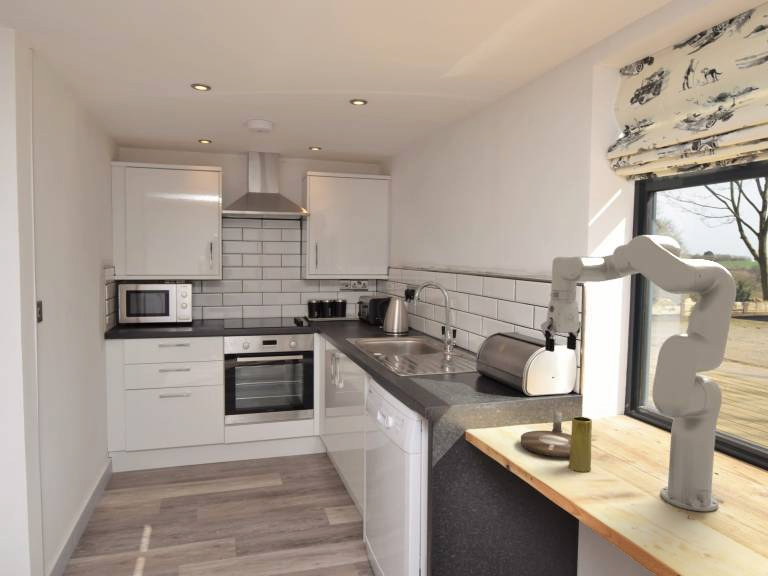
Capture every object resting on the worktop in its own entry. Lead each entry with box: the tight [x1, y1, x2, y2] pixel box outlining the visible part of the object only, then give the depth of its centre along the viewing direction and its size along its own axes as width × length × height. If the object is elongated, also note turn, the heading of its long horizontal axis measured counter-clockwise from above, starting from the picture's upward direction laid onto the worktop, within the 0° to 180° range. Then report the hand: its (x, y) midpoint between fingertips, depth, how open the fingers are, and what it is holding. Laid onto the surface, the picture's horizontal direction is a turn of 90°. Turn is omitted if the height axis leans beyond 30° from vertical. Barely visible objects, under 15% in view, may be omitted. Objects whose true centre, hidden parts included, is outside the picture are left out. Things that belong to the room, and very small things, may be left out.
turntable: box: [520, 411, 572, 458], centre depth 175 cm, size 23×20×8 cm
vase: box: [568, 416, 593, 473], centre depth 158 cm, size 6×6×14 cm
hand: (560, 350), depth 176 cm, fingers open, 9 cm apart
